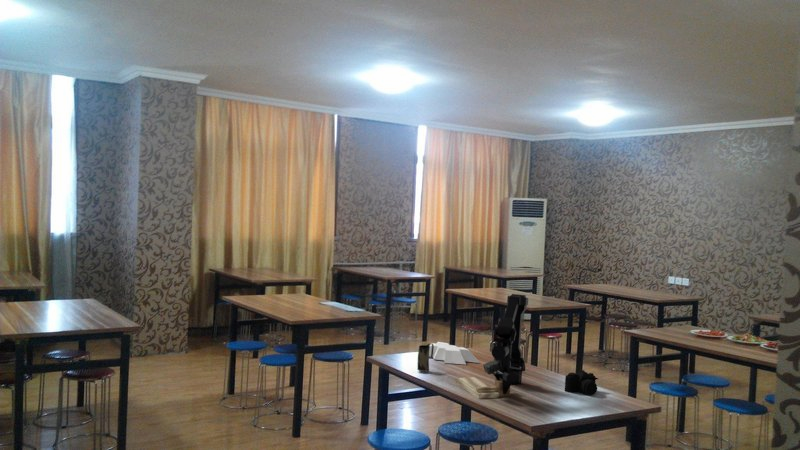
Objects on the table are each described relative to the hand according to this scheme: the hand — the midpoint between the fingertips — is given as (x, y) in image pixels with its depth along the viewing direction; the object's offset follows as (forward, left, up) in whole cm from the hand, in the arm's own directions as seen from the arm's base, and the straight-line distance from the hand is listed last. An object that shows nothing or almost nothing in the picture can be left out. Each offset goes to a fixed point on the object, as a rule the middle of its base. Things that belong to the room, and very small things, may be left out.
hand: (502, 392), depth 262 cm
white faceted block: (-3, -68, -2) cm, 68 cm away
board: (+8, -9, -1) cm, 12 cm away
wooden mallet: (0, 0, -1) cm, 1 cm away
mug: (+18, -44, -2) cm, 47 cm away
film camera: (-38, +2, -2) cm, 38 cm away
